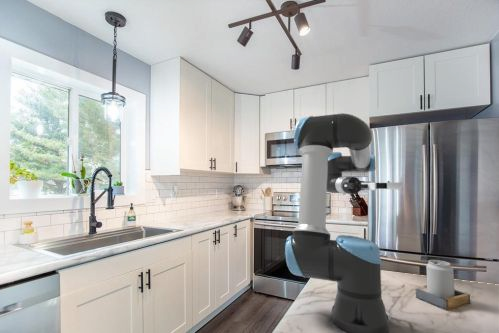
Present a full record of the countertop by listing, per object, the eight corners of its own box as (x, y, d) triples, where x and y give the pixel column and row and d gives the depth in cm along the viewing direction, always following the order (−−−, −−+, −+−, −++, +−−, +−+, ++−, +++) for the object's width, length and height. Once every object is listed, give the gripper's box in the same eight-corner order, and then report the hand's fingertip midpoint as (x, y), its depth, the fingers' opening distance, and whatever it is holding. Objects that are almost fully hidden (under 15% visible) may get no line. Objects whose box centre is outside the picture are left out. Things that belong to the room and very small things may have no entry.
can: (439, 292, 95) (437, 258, 96) (460, 301, 88) (458, 264, 89) (421, 294, 93) (420, 259, 94) (442, 304, 86) (441, 266, 87)
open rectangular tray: (446, 310, 83) (446, 300, 83) (415, 297, 92) (415, 288, 93) (470, 303, 88) (470, 294, 88) (438, 292, 97) (438, 283, 97)
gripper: (369, 193, 125) (412, 195, 105) (325, 194, 115) (363, 197, 96) (369, 177, 125) (412, 176, 106) (325, 176, 116) (363, 175, 96)
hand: (389, 186), depth 101 cm, fingers open, 13 cm apart
